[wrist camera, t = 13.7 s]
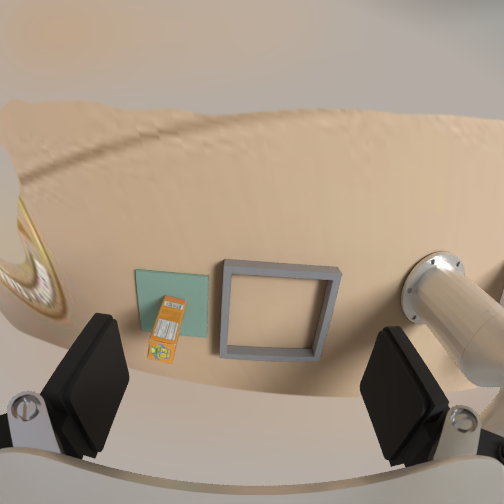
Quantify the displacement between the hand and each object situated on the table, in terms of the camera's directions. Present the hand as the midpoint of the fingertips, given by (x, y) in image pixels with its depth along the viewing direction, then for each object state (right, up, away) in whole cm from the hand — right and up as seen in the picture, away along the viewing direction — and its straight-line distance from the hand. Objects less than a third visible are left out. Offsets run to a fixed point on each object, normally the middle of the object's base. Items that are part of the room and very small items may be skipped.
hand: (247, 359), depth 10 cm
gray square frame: (+4, -5, +32) cm, 32 cm away
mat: (-11, -4, +31) cm, 33 cm away
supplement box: (-10, -4, +31) cm, 33 cm away
